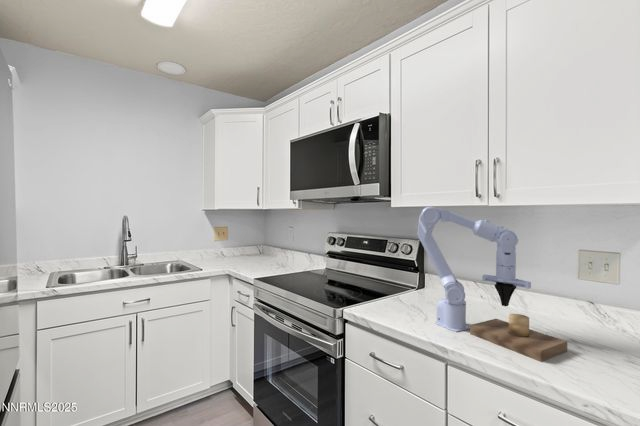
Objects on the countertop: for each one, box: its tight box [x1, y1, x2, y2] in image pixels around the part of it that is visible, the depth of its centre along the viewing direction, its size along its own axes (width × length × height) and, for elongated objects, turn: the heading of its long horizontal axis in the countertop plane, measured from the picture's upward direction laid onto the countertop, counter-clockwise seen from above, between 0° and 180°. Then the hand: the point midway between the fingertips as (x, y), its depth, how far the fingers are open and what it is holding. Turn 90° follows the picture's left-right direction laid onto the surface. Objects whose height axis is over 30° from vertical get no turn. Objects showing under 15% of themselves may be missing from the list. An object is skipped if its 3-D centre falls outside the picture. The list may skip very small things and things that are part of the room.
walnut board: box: [469, 318, 568, 362], centre depth 101 cm, size 22×14×3 cm, turn 28°
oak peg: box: [508, 313, 530, 337], centre depth 100 cm, size 6×6×8 cm
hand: (505, 305), depth 108 cm, fingers closed
